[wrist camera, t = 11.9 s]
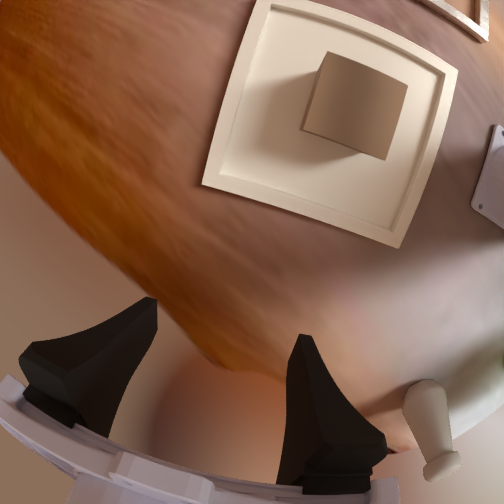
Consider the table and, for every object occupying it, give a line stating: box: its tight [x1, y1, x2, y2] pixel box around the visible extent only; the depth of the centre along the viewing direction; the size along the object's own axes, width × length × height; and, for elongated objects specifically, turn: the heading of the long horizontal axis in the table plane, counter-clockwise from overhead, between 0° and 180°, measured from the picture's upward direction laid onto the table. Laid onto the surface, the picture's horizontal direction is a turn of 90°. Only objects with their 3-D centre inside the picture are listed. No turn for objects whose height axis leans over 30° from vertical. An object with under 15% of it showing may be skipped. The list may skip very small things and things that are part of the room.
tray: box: [202, 0, 458, 249], centre depth 16 cm, size 15×15×1 cm
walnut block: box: [299, 51, 408, 161], centre depth 14 cm, size 4×4×5 cm
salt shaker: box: [402, 379, 461, 482], centre depth 21 cm, size 6×6×13 cm
